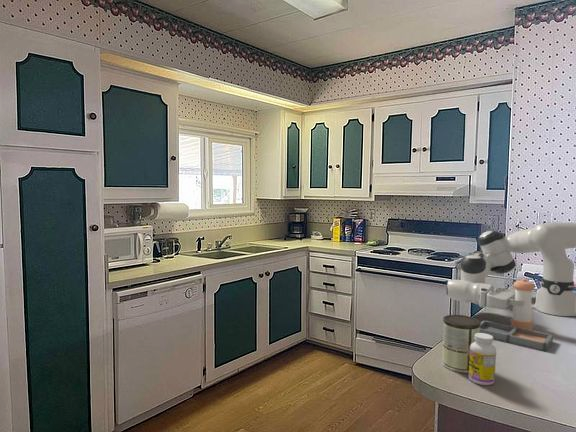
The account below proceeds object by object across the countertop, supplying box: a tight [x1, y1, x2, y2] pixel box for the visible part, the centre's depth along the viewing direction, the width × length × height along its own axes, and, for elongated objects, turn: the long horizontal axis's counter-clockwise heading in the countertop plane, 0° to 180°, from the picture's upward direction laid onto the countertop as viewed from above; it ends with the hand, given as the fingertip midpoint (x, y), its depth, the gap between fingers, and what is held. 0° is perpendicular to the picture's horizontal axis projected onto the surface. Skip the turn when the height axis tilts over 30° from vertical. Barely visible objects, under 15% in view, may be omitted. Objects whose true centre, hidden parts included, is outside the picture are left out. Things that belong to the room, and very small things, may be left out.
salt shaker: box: [510, 278, 535, 330], centre depth 163 cm, size 7×7×19 cm
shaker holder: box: [480, 319, 554, 352], centre depth 153 cm, size 12×23×2 cm, turn 50°
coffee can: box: [441, 314, 482, 374], centre depth 128 cm, size 10×10×14 cm
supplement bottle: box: [467, 333, 497, 386], centre depth 118 cm, size 7×7×13 cm
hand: (525, 301), depth 162 cm, fingers closed on salt shaker, 5 cm apart
